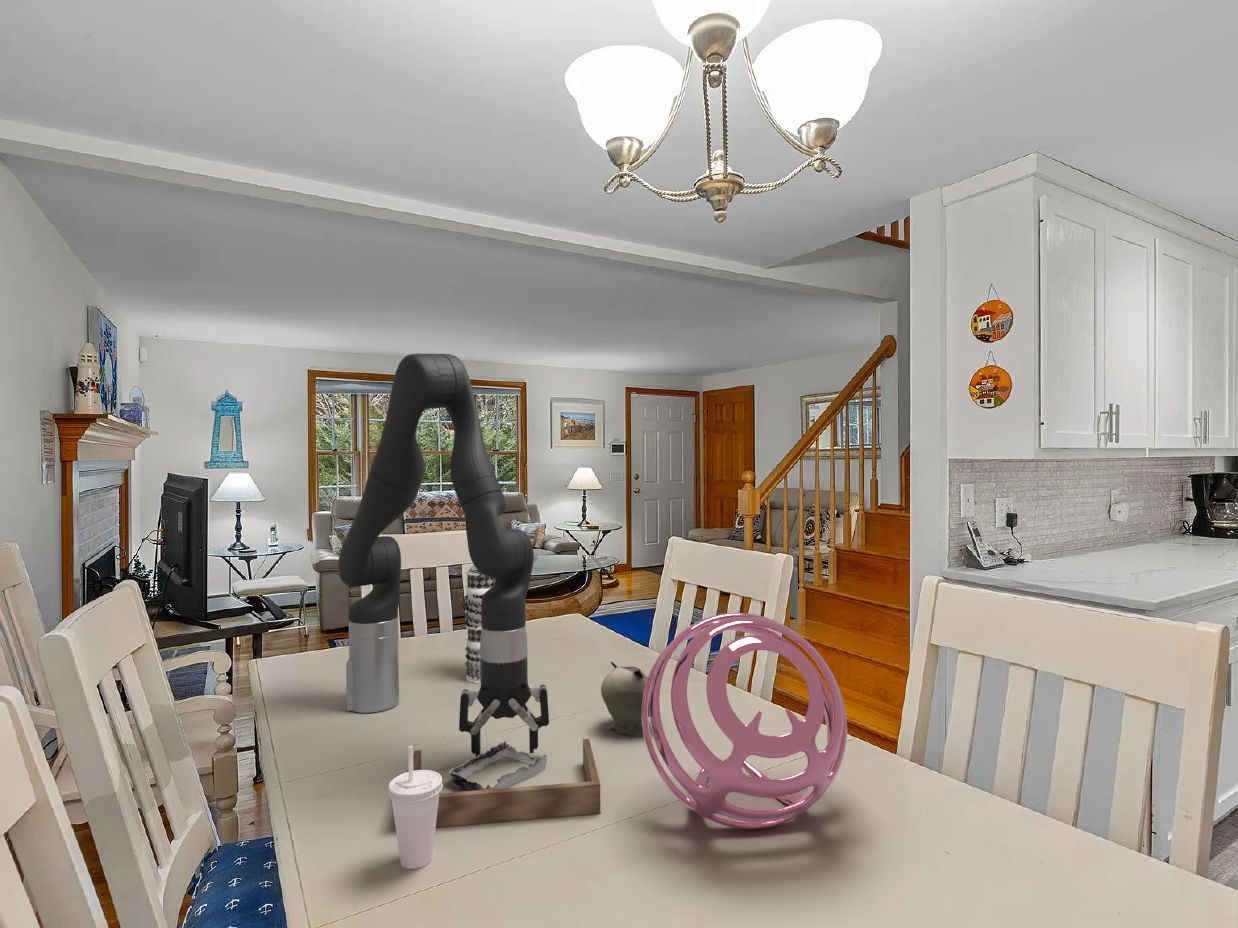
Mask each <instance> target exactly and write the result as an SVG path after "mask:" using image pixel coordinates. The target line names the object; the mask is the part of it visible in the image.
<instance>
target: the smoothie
mask: <svg viewBox="0 0 1238 928" xmlns="http://www.w3.org/2000/svg"><path fill="white" fill-rule="evenodd" d="M407 751H408V752H407V753H408V757H407V758H408V760H407V761H408V764H407V765H408V768H407V770H408V769H409V772H403V773H401V774H399V775H397V776H395V777H394V778H393V779H392V780H391V781H390V782H389V783H388V792H387V795H388V797H389V798H390V799H391V805H392V811H393V820H394V825H395V833H396V841H397V847H398V854H399V860H400V865H401V867H403V868H404V869H406V870H419V869H421V868H424V867H425V866H428V865H429V864H430V863H431V862H432V860H433V853H434V846H435V845H434V844H435V837H436V835H435V834H436V828H437V827H436V819H437V810H438V803H439V793H440V792H441V791H442V790H443V787H444V785H443V777H442V775H441V774H440V773H439V772H436V771H434V770H429V769H422V770H415V771H413V754H414V746H413V745H409V746H407Z"/></svg>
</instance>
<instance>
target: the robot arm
mask: <svg viewBox="0 0 1238 928" xmlns="http://www.w3.org/2000/svg"><path fill="white" fill-rule="evenodd" d="M387 407H388V408H387V412H386V417H385V421H384V425H383V428H382V432H381V436H380V440H379V443H378V447H377V450H376V453H375V455H374V458H373V460H372V463H371V466H370V468H369V472H368V475H367V478H366V482H365V486H364V489H363V493H362V496H361V499H360V502H359V506H358V509H357V512H356V513H355V516H354V519H353V521H352V523H351V526H350V528H349V530H348V532H347V533H346V535H345V538H344V540H343V544H342V545H341V548H340V553H339V555H338V560H337V561H338V563H337V570H338V576H339V578H340V580H341V582H343V584H345V585H347V586H349V587H363V586H371V585H374V586H373V588H372V589H371V591H370V592H369V593H368V594H366V595H365V596H363V597H362V598H360V599H359V600H357V601H354V603H352V604H351V605H350V606H349V608H348V644H349V645H348V660H347V661H346V663H345V669H346V671H345V673H346V674H345V675H346V677H345V680H346V683H345V684H346V711H347V712H356V713H361V714H362V713H369V714H370V713H377V712H382V711H386V710H390V709H391V708H393V707H395V706H397V705H398V704H399V702H400V671H399V669H400V668H399V667H400V665H399V663H400V660H399V654H400V653H399V652H400V651H399V607H400V601H401V575H402V555H401V547H400V546H399V543H398V541H397V540H396V539H395V538H394V537H392V536H389V535H385V536H384V535H381V534H382V532H384V530H386V529H387V528H389V526H390V525H391V524H393V523H394V522H395V521H396V520H398V519H399V518H400V517H401V516H402V515H403V514H404V513H406V511H407V510H409V509H410V507H411V506H412V505H413V503H414V502H415V501H416V498H417V496H418V494H419V491H420V489H421V485H422V483H423V480H424V478H425V477H424V476H425V473H426V463H425V458H424V455H423V452H422V449H421V448H420V445H419V442H418V440H417V429H418V426H419V422H420V420H421V419H420V418H421V416H422V415H423V413H424V411H425V410H429V409H430V410H431V409H443V408H444V409H445V410H446V412H447V415H448V416H449V418H450V420H451V423H452V428H453V446H452V451H451V458H450V466H449V467H450V468H449V469H450V470H449V471H450V478H451V483H452V486H453V489H454V492H455V495H456V497H457V499H458V502H459V504H460V507H461V510H462V512H463V515H464V519H465V520H464V521H465V532H466V540H467V542H466V543H467V548H468V553H469V558H470V560H471V563H472V564H473V565H474V566H475V567H476V568H477V570H478V571H479V572H480V573H482V574H483V575H485V576H488V577H496V578H495V583H494V585H493V586H492V587H491V588H490V589H489V590H488V591H486V592H485V593H484V595H483V597H482V606H481V610H482V611H481V618H482V630H481V638H480V676H481V684H480V686H479V687H480V688H479V690H478V691H470V690H469V689H463V690H461V694H460V701H459V703H460V704H459V720H458V721H459V723H458V729H459V731H460V733H464V732H466V733H469V734H470V750H471V754H472V755H475V757H477V756H478V755H479V754H482V752H481V751H482V749H481V748H482V747H481V745H482V744H481V743H482V742H481V741H482V739H481V737H482V735H481V734H482V733H481V729H482V728H483V727H484V726H485V725H486V724H487V722H488V721H489V719H490V718H491V717H492V718H493V719H495V720H497V719H502V718H509V719H513V718H515V717H516V716H518V717H519V718H520V719H521V720H522V721H523V722H525V723H524V724H526V725H527V726H528V733H529V734H528V737H529V743H528V745H529V747H528V748H529V749H528V750H529V754H534V753H535V750H538V747H539V729H541V728H542V727H547V726H548V725H549V724H550V715H549V714H550V712H549V701H548V689H547V685H545V684H541V685H540V686H539V687H533V688H530V686H529V684H528V683H529V679H528V677H529V675H528V669H529V667H528V662H529V661H528V652H529V647H528V636H527V627H526V625H527V624H526V597H527V593H528V590H529V587H530V582H531V577H532V571H533V566H534V557H535V556H534V555H535V554H534V547H533V544H532V541H531V538H530V537H529V536H528V534H527V533H526V532H525V531H524V530H522V529H520V528H506V529H501V527H500V521H499V517H500V516H501V515H502V514H503V513H505V511H506V509H507V502H506V497H505V495H504V493H503V490H502V488H501V485H500V483H499V480H498V478H497V475H496V472H495V471H494V467H493V466H492V465H493V464H492V463H491V459H490V457H489V454H488V451H487V447H486V444H485V440H484V439H485V438H484V434H483V431H482V426H481V421H480V416H479V411H478V408H477V404H476V399H475V395H474V391H473V386H472V383H471V379H470V377H469V374H468V370H467V368H466V366H465V365H464V362H463V361H462V360H461V359H460V358H459V357H458V356H456V355H453V354H449V353H411V354H407V355H406V356H404V357H403V358H402V359H401V360H400V362H399V364H398V365H397V369H396V371H395V374H394V377H393V381H392V386H391V391H390V396H389V402H388V406H387ZM380 535H381V536H380ZM531 697H533V698H534V700H535V702H537V703H540V704H539V706H540V715H539V716H537V717H536V716H535V714H533V712H532V711H531V709H530V708H529V706H528V705H527V703H528V701H529V700H530V698H531ZM475 700H478V702H479V703H480V705H481V706H482V708H481V710H480V711H479V713H478V714H477V716H476V717H475V719H474V720H473V721H471V720H469V708H470V707H472V706H473V705H474V703H475V702H474V701H475Z"/></svg>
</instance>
